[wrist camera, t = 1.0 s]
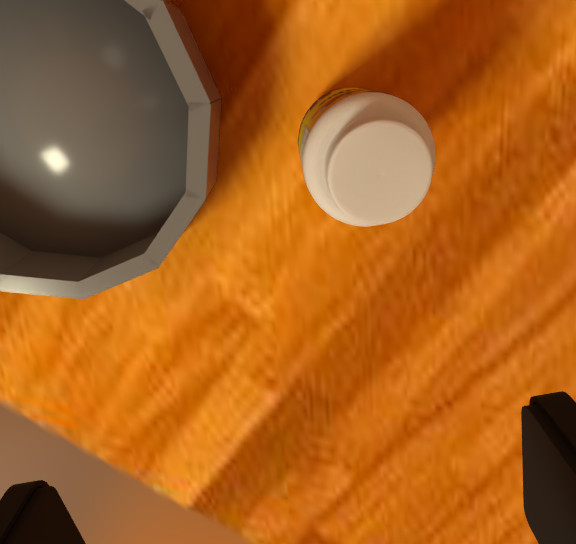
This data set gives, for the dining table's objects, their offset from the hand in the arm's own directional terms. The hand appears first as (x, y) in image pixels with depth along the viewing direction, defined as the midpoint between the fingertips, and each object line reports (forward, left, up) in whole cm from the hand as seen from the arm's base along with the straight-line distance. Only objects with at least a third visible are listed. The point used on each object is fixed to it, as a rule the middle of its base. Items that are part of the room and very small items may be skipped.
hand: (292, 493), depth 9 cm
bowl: (+9, -9, -21) cm, 25 cm away
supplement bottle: (-5, -2, -21) cm, 22 cm away
